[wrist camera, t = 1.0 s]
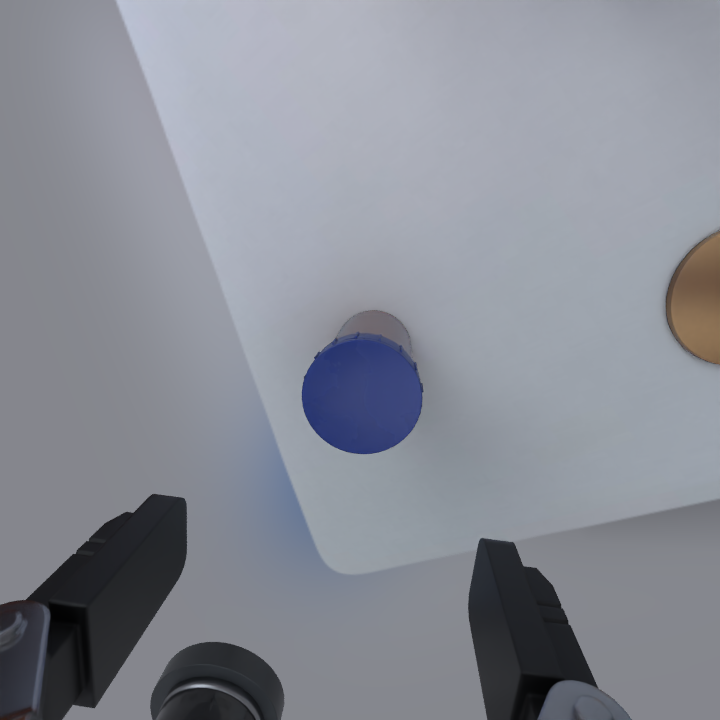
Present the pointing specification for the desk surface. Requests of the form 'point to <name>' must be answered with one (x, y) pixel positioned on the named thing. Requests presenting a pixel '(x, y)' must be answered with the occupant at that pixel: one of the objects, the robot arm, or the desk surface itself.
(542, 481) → the desk surface
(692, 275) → the coaster
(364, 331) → the jar
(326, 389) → the lid
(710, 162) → the desk surface
